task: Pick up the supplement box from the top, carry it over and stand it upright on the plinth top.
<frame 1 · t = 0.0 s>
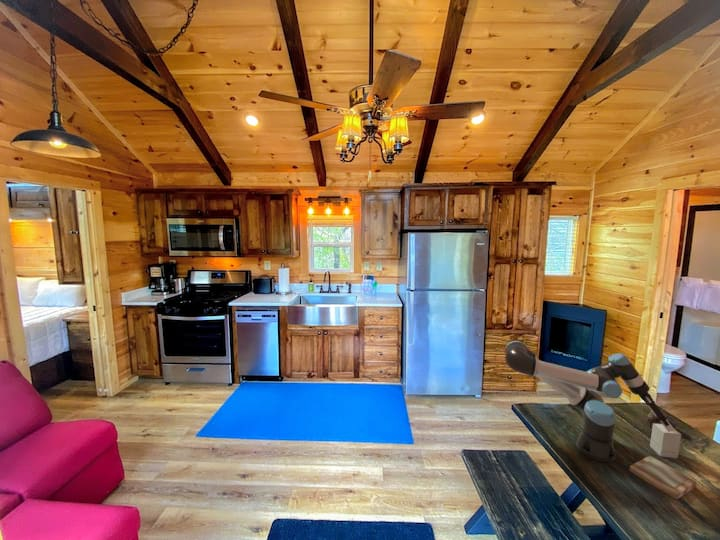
hand: (664, 422, 148), 15 cm above the table, tool tilted 35°, fingers open, 13 cm apart
supplement box: (663, 452, 149), on the table
rock: (659, 427, 168), on the table
plinth: (661, 478, 134), on the table
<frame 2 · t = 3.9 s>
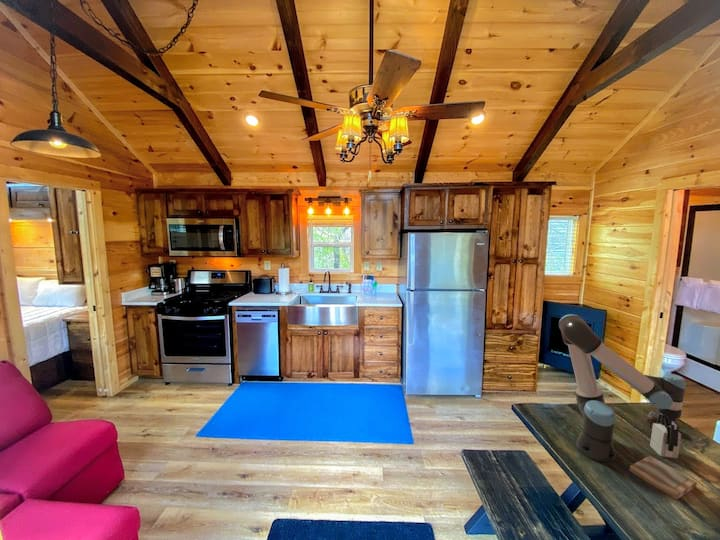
hand: (663, 449, 149), 1 cm above the table, tool pointing down, fingers closed on supplement box, 8 cm apart
supplement box: (663, 452, 149), on the table, touching gripper
everything else where it was.
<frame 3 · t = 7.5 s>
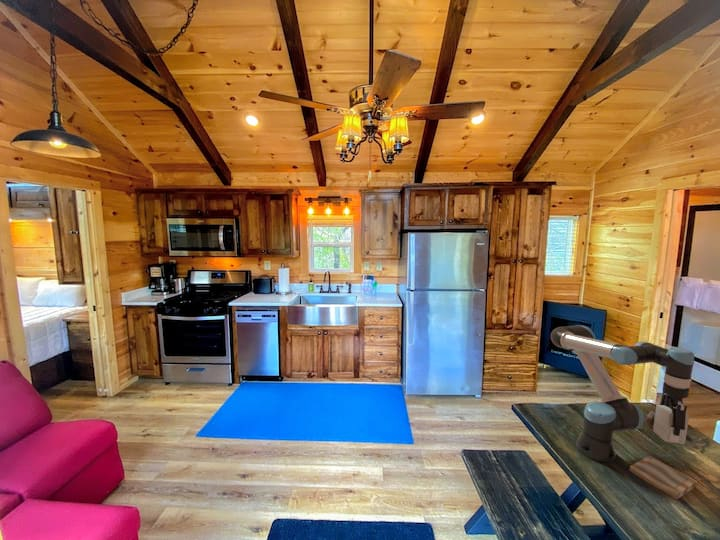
hand: (668, 434, 131), 21 cm above the table, tool pointing down, fingers closed on supplement box, 8 cm apart
supplement box: (668, 437, 131), point 20 cm above the table, touching gripper
everything else where it was.
when the fingers open (6 cm above the table, at t = 11.1 s): supplement box drops 1 cm, resting on plinth.
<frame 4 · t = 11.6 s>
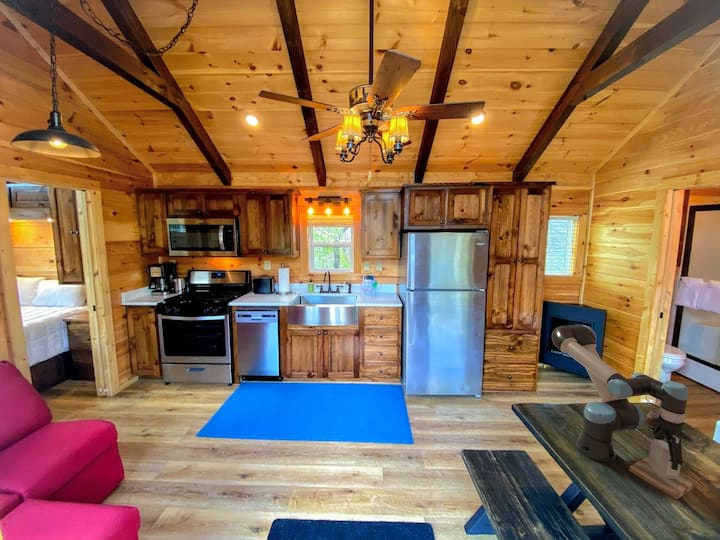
hand: (664, 463, 133), 7 cm above the table, tool pointing down, fingers open, 13 cm apart
supplement box: (662, 472, 134), point 3 cm above the table, touching plinth
everything else where it was.
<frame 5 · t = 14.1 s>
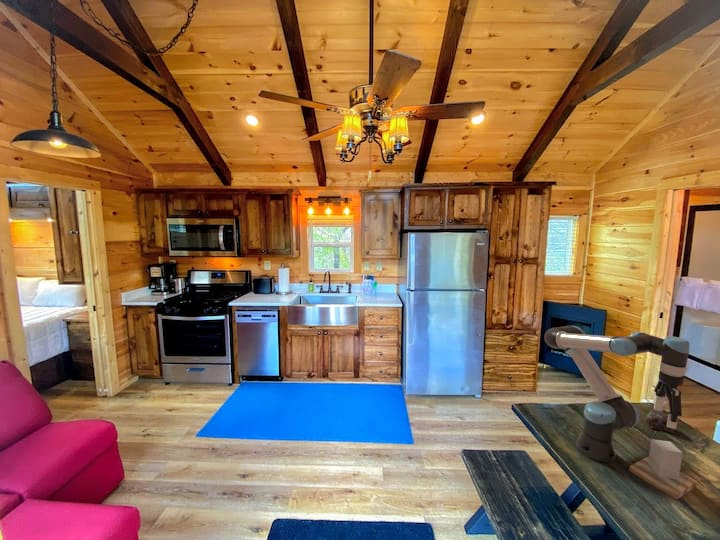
hand: (664, 418, 134), 26 cm above the table, tool pointing down, fingers open, 13 cm apart
nothing on the table moved.
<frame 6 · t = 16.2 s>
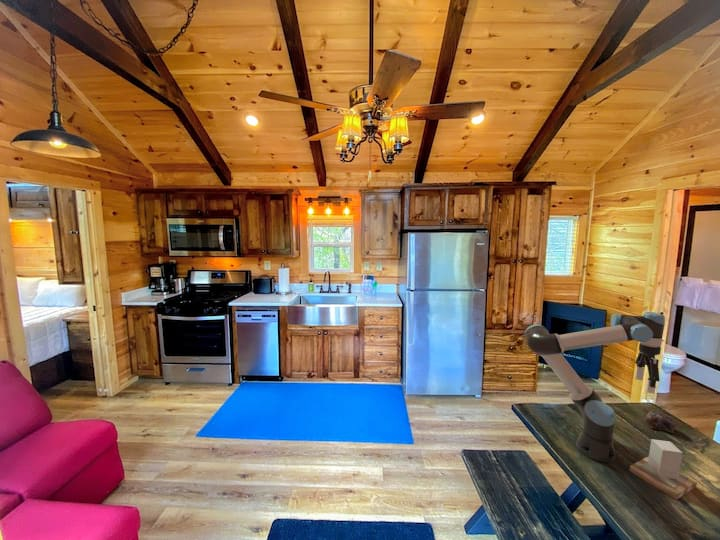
hand: (644, 386, 150), 32 cm above the table, tool pointing down, fingers open, 13 cm apart
at the end: supplement box inside the target area on the plinth (0.3 cm from its centre), point 2.8 cm above the plinth's base; supplement box tilted 0°; the gripper is holding nothing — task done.
